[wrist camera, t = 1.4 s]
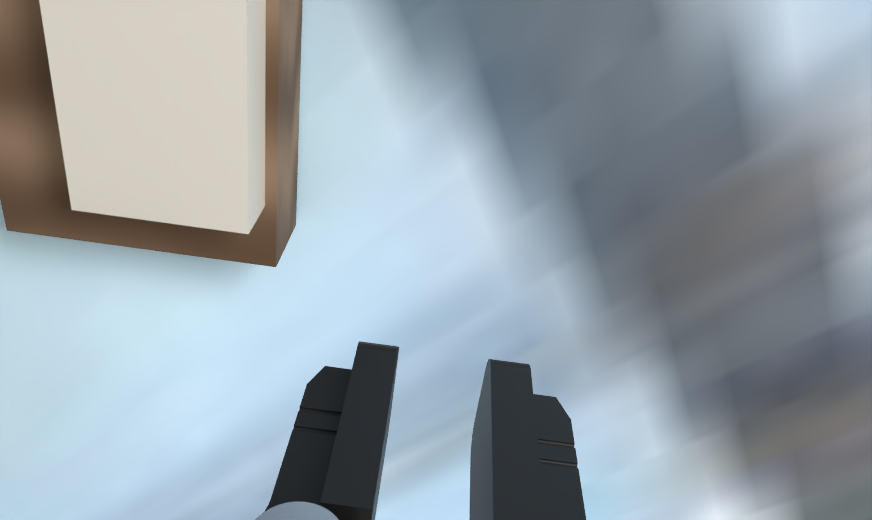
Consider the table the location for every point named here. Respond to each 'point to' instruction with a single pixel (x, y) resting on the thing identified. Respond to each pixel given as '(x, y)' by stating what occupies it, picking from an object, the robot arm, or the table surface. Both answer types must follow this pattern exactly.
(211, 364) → the table surface
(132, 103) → the cream rectangular tile
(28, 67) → the deck
